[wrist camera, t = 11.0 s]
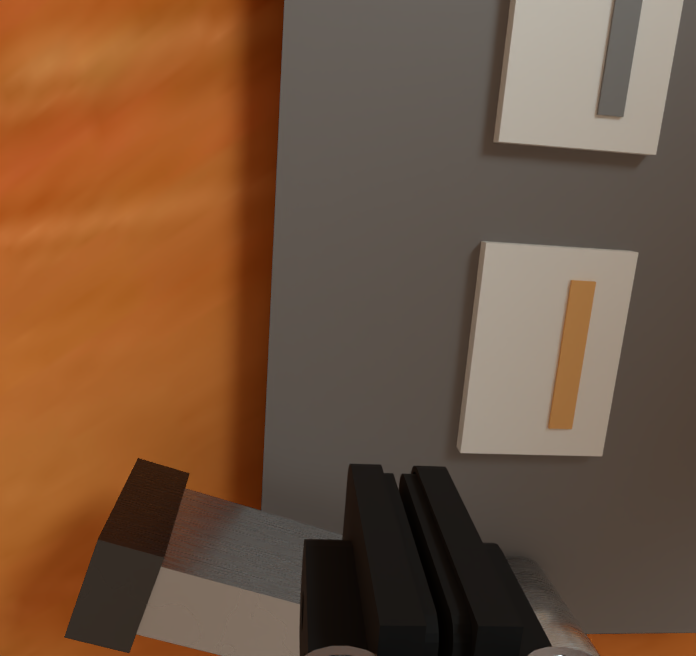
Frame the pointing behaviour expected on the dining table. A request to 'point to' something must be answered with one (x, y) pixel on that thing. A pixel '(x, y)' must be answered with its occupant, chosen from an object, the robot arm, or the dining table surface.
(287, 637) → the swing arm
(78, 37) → the dining table surface
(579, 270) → the label board
